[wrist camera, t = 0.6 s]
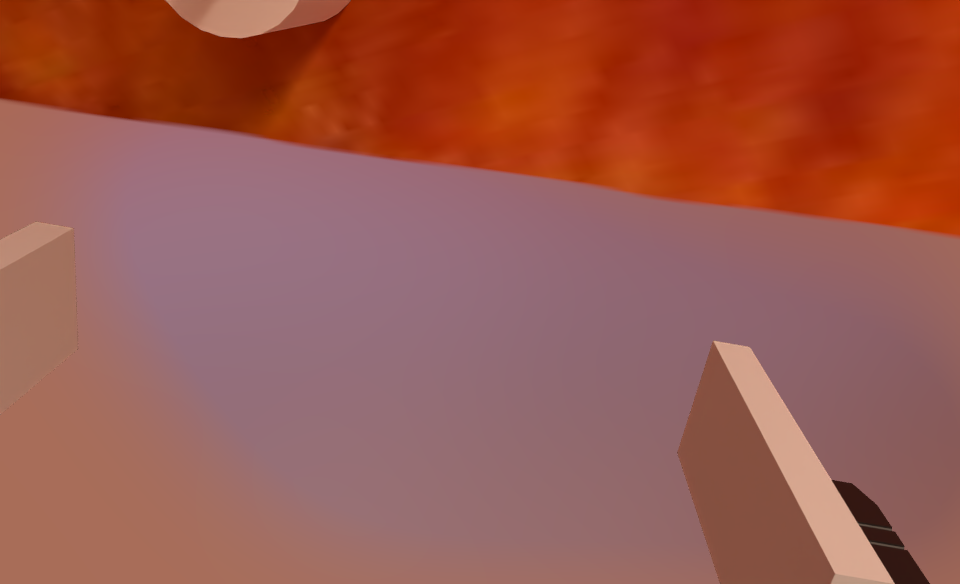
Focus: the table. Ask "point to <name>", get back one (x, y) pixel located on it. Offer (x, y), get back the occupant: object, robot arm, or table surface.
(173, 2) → the candle
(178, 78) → the table surface
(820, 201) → the table surface
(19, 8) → the table surface
